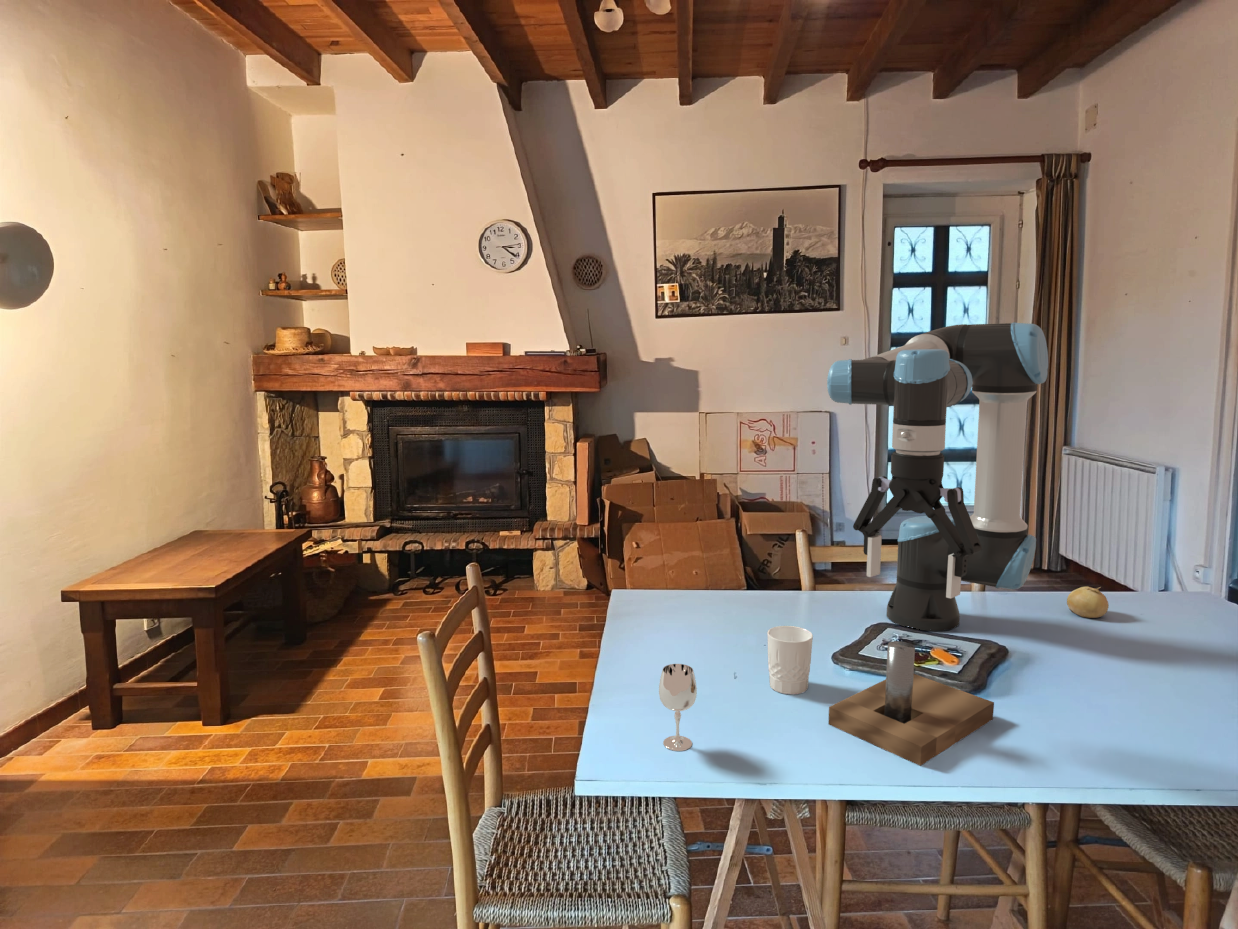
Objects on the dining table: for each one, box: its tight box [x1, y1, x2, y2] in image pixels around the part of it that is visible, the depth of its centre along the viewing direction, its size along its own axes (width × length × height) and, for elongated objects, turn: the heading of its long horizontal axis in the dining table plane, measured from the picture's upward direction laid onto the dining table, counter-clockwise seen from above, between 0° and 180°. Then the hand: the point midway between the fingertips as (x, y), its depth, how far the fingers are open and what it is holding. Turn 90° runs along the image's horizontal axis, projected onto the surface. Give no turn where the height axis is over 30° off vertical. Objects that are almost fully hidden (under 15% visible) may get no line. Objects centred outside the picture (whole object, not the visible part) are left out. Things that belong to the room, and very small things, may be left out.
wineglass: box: [658, 663, 698, 752], centre depth 116 cm, size 6×6×12 cm
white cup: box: [766, 625, 814, 695], centre depth 136 cm, size 8×8×10 cm
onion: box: [1066, 586, 1109, 619], centre depth 171 cm, size 8×8×7 cm
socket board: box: [827, 673, 995, 767], centre depth 123 cm, size 16×22×3 cm
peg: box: [884, 640, 916, 724], centre depth 120 cm, size 4×4×14 cm
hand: (911, 585), depth 119 cm, fingers open, 13 cm apart
